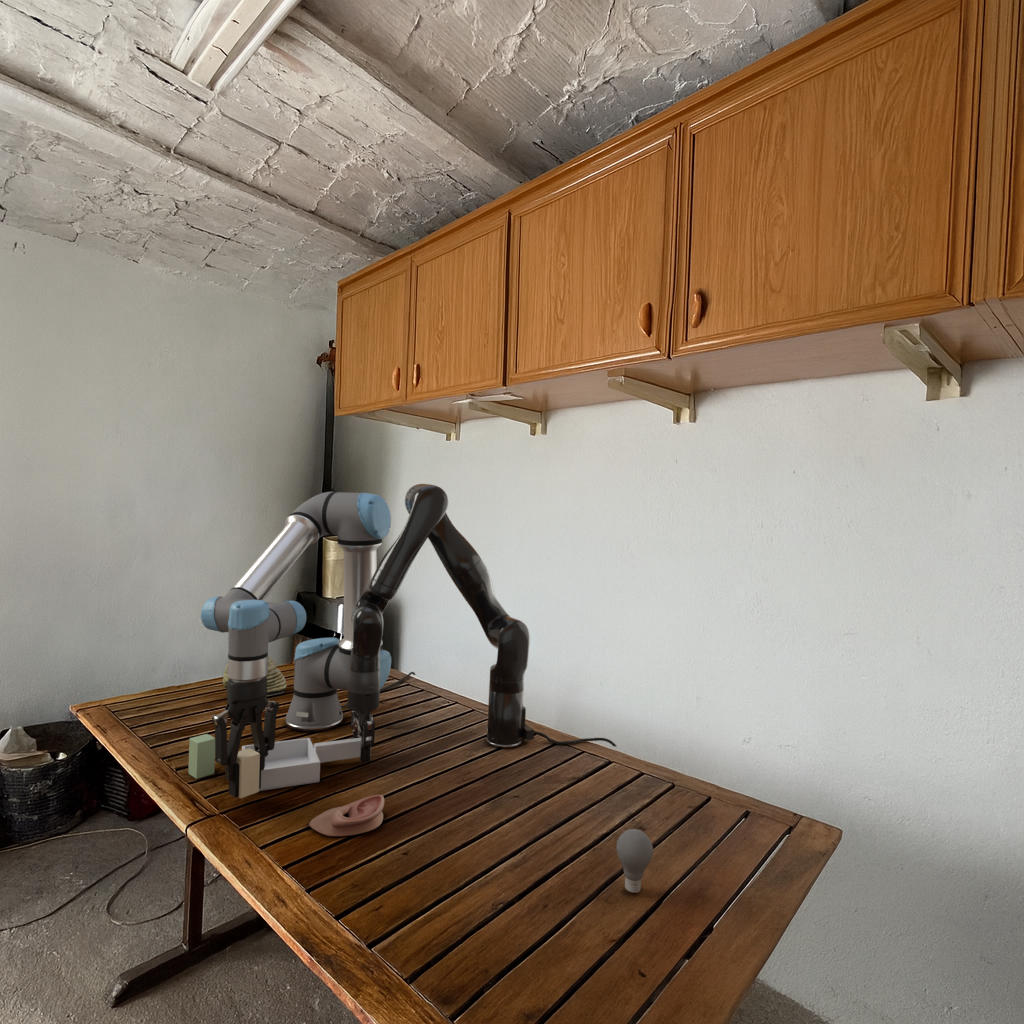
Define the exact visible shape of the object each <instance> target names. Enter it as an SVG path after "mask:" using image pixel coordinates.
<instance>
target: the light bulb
mask: <svg viewBox="0 0 1024 1024" xmlns="http://www.w3.org/2000/svg"><path fill="white" fill-rule="evenodd" d="M615 849H616V854H617V857H618V859H619V861H620V863H621V865H622V867H623V873H624V874H623V875H624V876H625V878H624V888H625V890H627V891H628V892H630V893H634V894H635V893H639V892H640V891H641V889H642V887H641V886H642V879H643V877H644V875H645V871H646V868H647V867H648V866H649V864H650V863H651V861H652V859H653V855H654V847H653V843H652V841H651V838H649V836H648V835H647V834H646V833H645V832H643V831H642V830H641V829H636V828H629V829H627V830H625V831H623V832H622V833H621V834H620V835H619V837H618V839H617V841H616V847H615Z"/></svg>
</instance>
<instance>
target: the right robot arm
mask: <svg viewBox="0 0 1024 1024" xmlns="http://www.w3.org/2000/svg"><path fill="white" fill-rule="evenodd" d="M404 496H405V497H404V506H405V509H406V511H407V513H408V514H409V515H408V518H407V520H406V522H405V524H404V526H403V529H402V530H401V532H400V534H399V535H398V537H397V538H396V540H395V541H394V542H393V544H392V545H390V547H389V548H388V550H387V551H386V552H385V554H384V555H383V557H382V559H381V560H380V562H379V564H378V565H377V569H376V571H375V573H374V575H373V577H372V579H371V581H370V583H369V585H368V587H367V589H366V590H365V591H364V593H363V594H362V596H361V597H360V599H359V600H358V602H357V604H356V605H355V607H354V609H353V612H352V615H351V622H352V624H353V647H352V649H351V656H350V673H349V678H348V691H347V700H346V701H347V702H346V704H347V709H349V710H350V711H351V714H350V715H351V716H350V717H351V718H350V729H351V733H352V739H354V738H360V743H361V744H360V745H361V752H360V757H359V761H360V763H362V764H365V763H369V762H371V756H370V753H371V754H372V747H374V746H375V731H376V721H375V719H374V716H373V715H372V711H373V710H376V709H378V708H379V707H380V699H381V697H380V696H381V691H380V646H381V641H383V635H384V616H383V614H384V612H385V610H386V608H387V606H388V604H389V603H390V601H392V600H393V599H394V598H396V595H397V594H398V592H399V590H400V588H401V586H402V585H403V582H404V580H405V578H406V576H407V575H408V572H409V571H410V568H411V567H412V565H413V563H414V561H415V559H416V557H417V556H418V554H419V552H420V551H421V549H422V547H423V546H424V544H425V543H426V542H427V539H428V541H429V542H430V544H431V546H432V547H433V549H434V551H435V553H436V555H437V556H438V559H439V560H440V562H441V564H442V566H443V567H444V569H445V571H446V573H447V575H448V576H449V577H450V579H451V581H452V582H453V584H454V585H455V587H456V589H457V590H458V591H459V592H460V594H461V595H462V597H463V598H464V600H465V602H466V603H467V604H468V606H469V607H470V608H471V610H472V611H473V612H474V614H475V616H476V618H477V620H478V622H479V624H480V626H481V629H482V631H483V633H484V635H485V637H486V639H487V640H488V642H489V643H490V645H491V646H492V647H494V648H495V649H497V654H496V655H497V656H496V662H495V663H494V664H492V665H491V666H490V668H489V681H488V682H489V683H488V703H487V705H488V708H487V723H486V727H485V728H486V743H487V744H488V745H489V746H492V747H494V748H501V749H512V748H517V747H519V746H520V745H522V744H525V740H526V741H531V740H534V739H535V735H538V736H541V737H543V738H544V739H546V741H548V742H549V743H551V744H554V745H560V746H561V745H575V744H578V743H583V742H599V741H600V742H606V743H609V744H610V745H611V746H612V747H617V744H616V743H615V742H613V741H612V740H611V739H609V738H605V737H590V738H589V737H588V738H578V739H574V740H564V741H557V740H554V739H551V738H550V737H549V736H548V735H547V734H545V733H544V732H540V731H538V730H535V729H534V728H533V727H531V726H530V725H528V724H527V723H526V719H527V718H526V717H527V715H526V714H527V708H526V707H525V706H524V693H525V692H524V690H525V674H526V673H525V672H526V671H527V668H528V665H529V655H530V645H531V634H530V629H529V627H528V625H527V624H526V623H525V622H524V621H522V620H519V619H518V618H515V617H513V616H511V615H510V614H509V613H508V612H507V611H506V610H505V608H504V606H503V605H502V604H501V603H500V601H499V600H498V598H497V596H496V592H495V590H494V585H493V580H492V577H491V573H490V571H489V569H488V567H487V565H486V564H485V563H484V561H483V559H482V557H481V555H480V554H479V553H478V551H477V550H476V549H475V548H474V546H473V545H472V544H471V542H469V541H468V540H467V538H466V537H465V536H464V535H463V534H462V533H461V532H460V531H459V530H458V529H457V528H456V527H455V525H454V524H453V522H452V520H451V519H450V518H449V515H448V513H447V511H448V508H449V498H448V495H447V493H446V492H445V490H444V489H443V488H442V487H440V486H438V485H435V484H431V483H430V484H429V483H417V484H415V485H412V486H411V487H410V488H408V490H407V492H406V493H405V495H404ZM367 737H368V739H369V741H366V738H367Z"/></svg>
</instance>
